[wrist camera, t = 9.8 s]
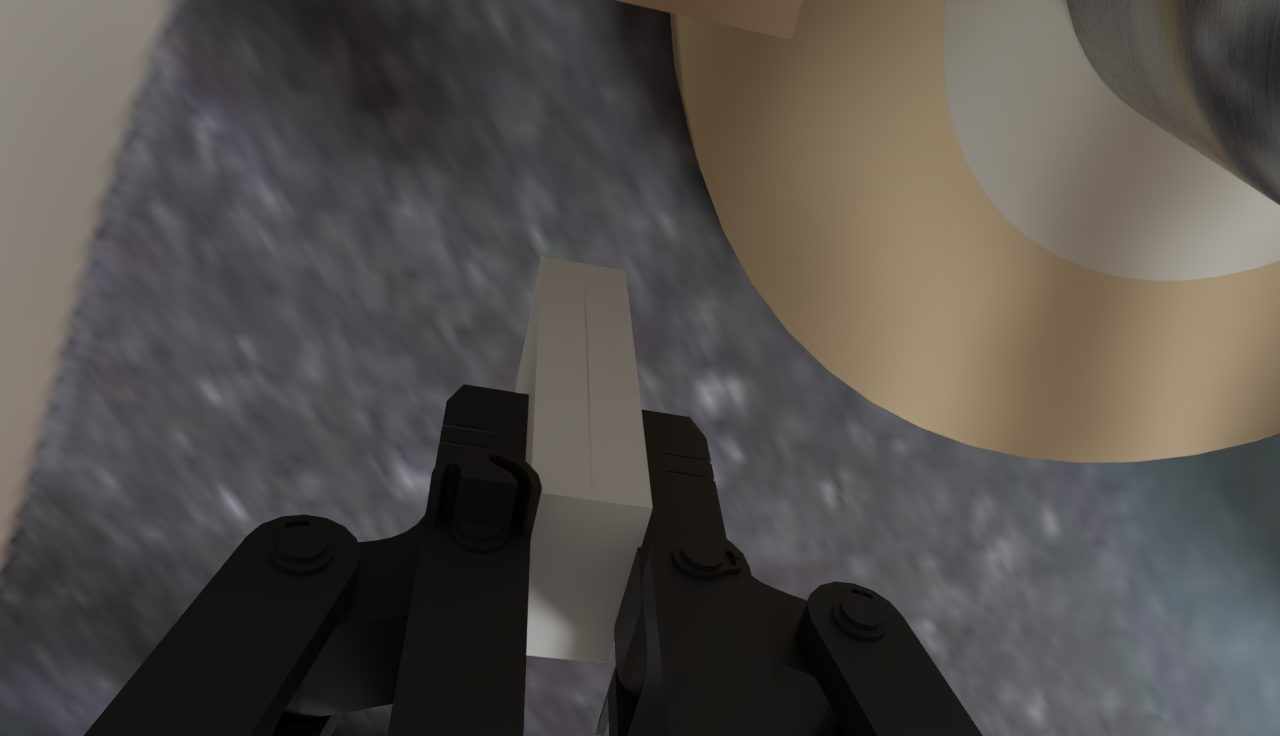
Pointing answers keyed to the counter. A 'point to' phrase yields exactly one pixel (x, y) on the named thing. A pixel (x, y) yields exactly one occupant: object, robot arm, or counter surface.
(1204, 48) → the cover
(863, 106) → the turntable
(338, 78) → the counter surface
